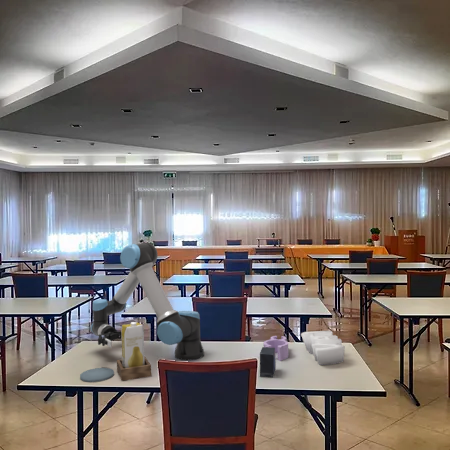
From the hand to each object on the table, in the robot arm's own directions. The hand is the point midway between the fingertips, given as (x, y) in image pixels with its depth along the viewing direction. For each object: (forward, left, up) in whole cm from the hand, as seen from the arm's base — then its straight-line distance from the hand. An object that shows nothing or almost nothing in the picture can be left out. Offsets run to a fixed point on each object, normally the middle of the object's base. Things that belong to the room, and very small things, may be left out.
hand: (124, 341), depth 213 cm
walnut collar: (-2, +9, -13) cm, 16 cm away
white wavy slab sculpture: (-94, +26, -13) cm, 98 cm away
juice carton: (-2, +9, -13) cm, 16 cm away
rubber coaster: (+14, +5, -13) cm, 19 cm away
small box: (-58, +36, -13) cm, 70 cm away
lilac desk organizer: (-75, +13, -13) cm, 77 cm away
